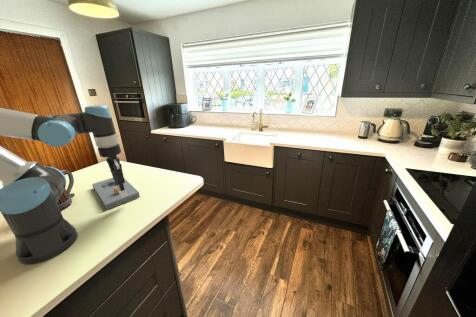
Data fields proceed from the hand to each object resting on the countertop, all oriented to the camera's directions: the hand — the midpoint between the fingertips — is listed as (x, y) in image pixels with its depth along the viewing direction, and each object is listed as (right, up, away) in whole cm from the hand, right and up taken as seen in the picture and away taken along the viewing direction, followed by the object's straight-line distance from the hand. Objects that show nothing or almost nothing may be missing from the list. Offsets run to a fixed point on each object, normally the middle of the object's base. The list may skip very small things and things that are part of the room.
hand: (123, 195), depth 87 cm
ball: (-7, +2, +6) cm, 9 cm away
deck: (-11, -1, +12) cm, 17 cm away
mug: (-30, -5, +4) cm, 31 cm away
